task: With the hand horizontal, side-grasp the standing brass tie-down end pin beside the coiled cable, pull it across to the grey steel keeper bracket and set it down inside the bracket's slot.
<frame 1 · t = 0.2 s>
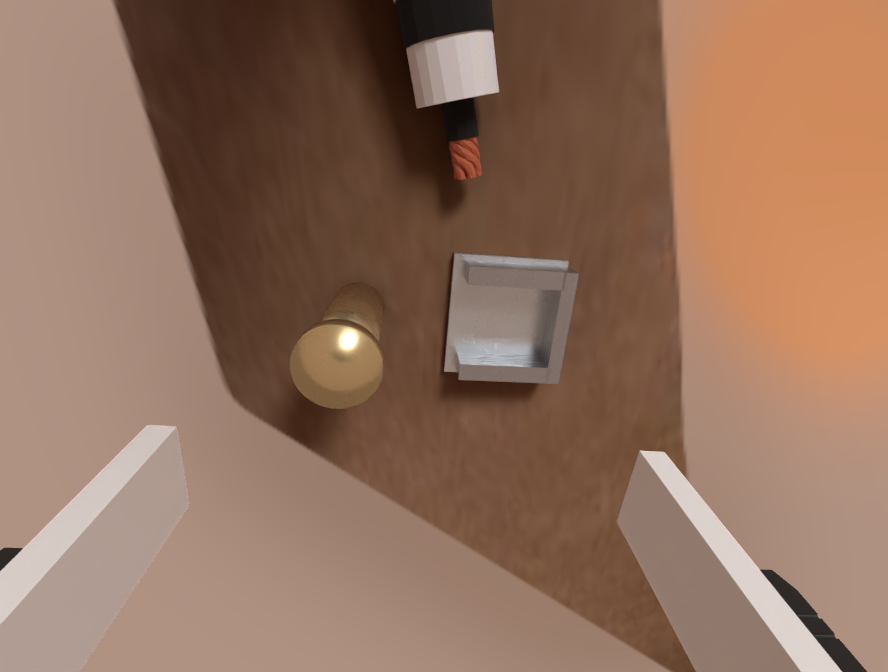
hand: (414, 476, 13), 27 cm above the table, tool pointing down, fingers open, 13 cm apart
end pin: (359, 307, 39), on the table
keeper bracket: (502, 315, 40), on the table
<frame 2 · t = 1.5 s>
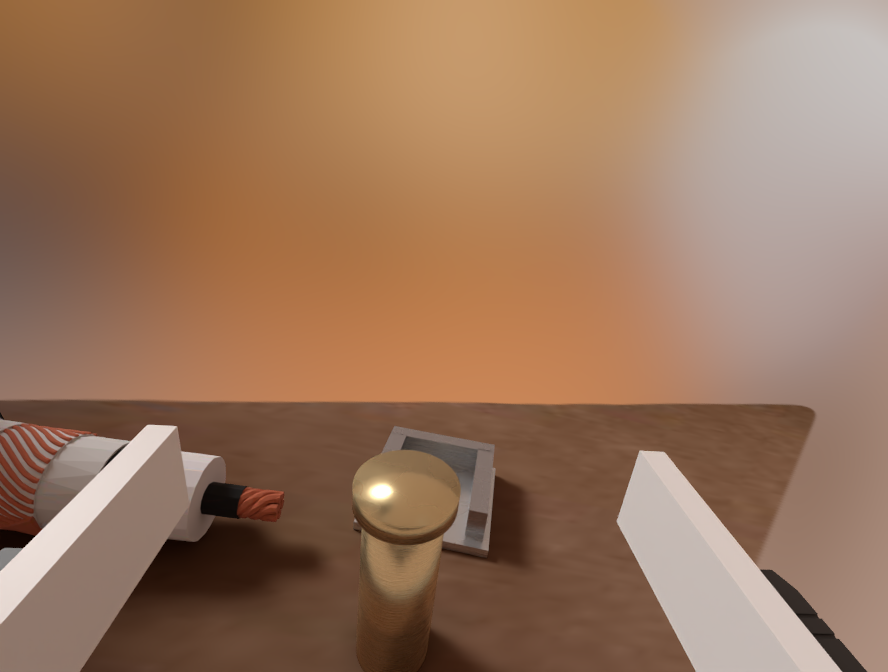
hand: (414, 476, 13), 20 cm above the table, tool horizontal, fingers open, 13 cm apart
end pin: (392, 644, 28), on the table
cable: (66, 512, 34), on the table, touching arm
keeper bracket: (430, 499, 40), on the table
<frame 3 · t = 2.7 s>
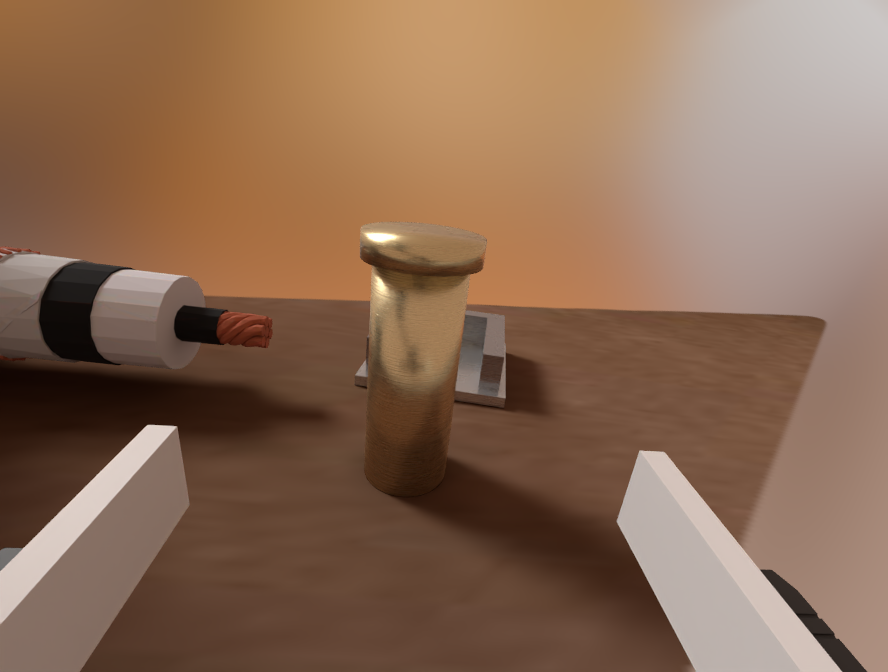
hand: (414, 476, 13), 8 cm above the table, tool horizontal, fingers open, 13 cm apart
end pin: (405, 467, 25), on the table
cable: (25, 356, 30), point 1 cm above the table, touching arm
keeper bracket: (438, 366, 37), on the table
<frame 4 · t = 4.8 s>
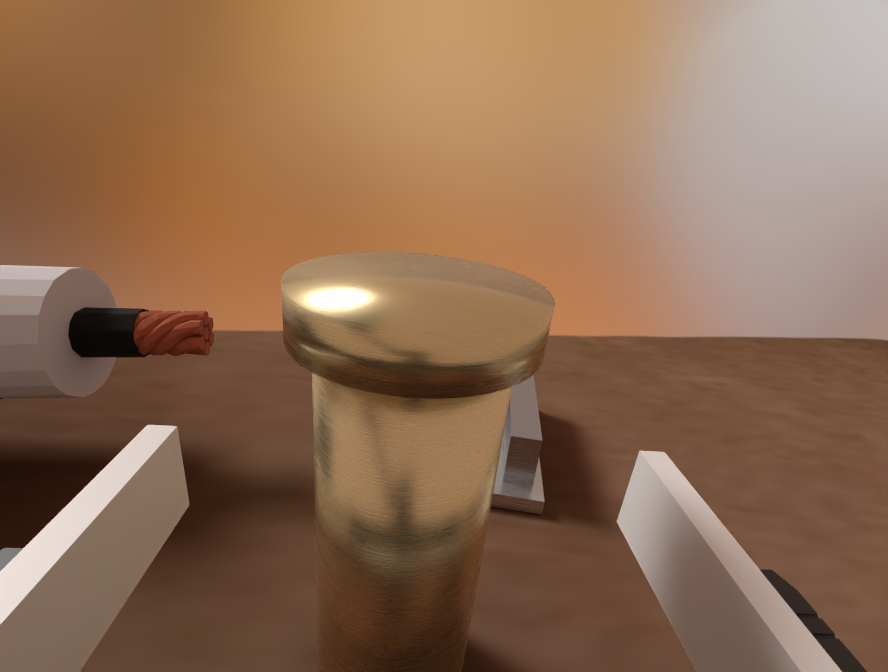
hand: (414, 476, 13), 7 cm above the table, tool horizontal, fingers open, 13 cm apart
end pin: (390, 669, 14), on the table
keeper bracket: (442, 437, 26), on the table
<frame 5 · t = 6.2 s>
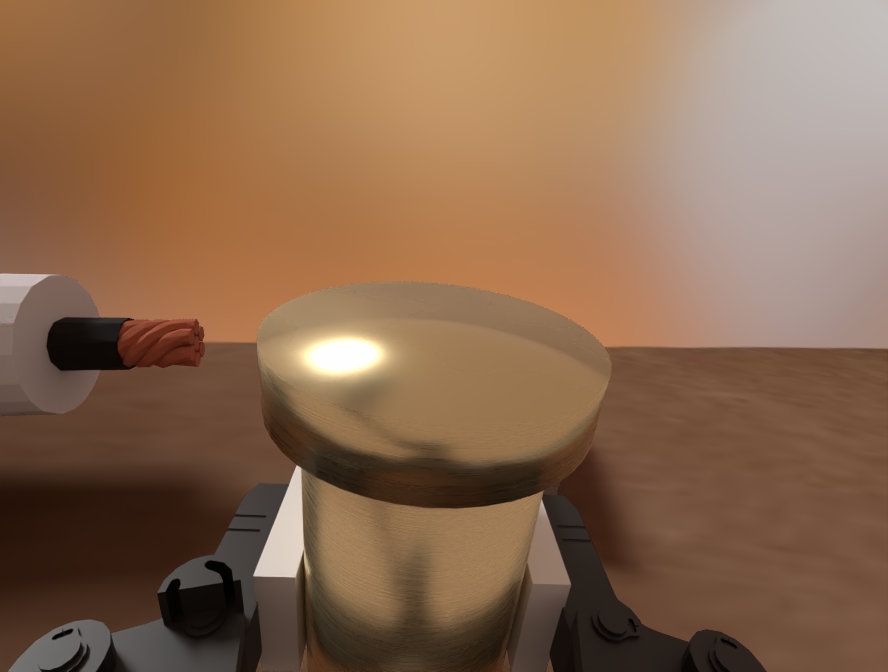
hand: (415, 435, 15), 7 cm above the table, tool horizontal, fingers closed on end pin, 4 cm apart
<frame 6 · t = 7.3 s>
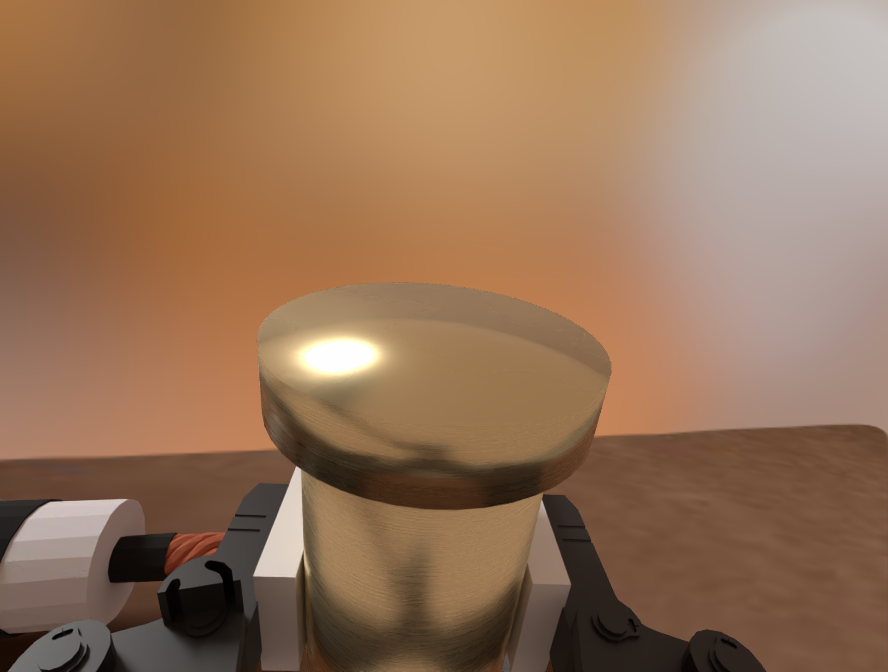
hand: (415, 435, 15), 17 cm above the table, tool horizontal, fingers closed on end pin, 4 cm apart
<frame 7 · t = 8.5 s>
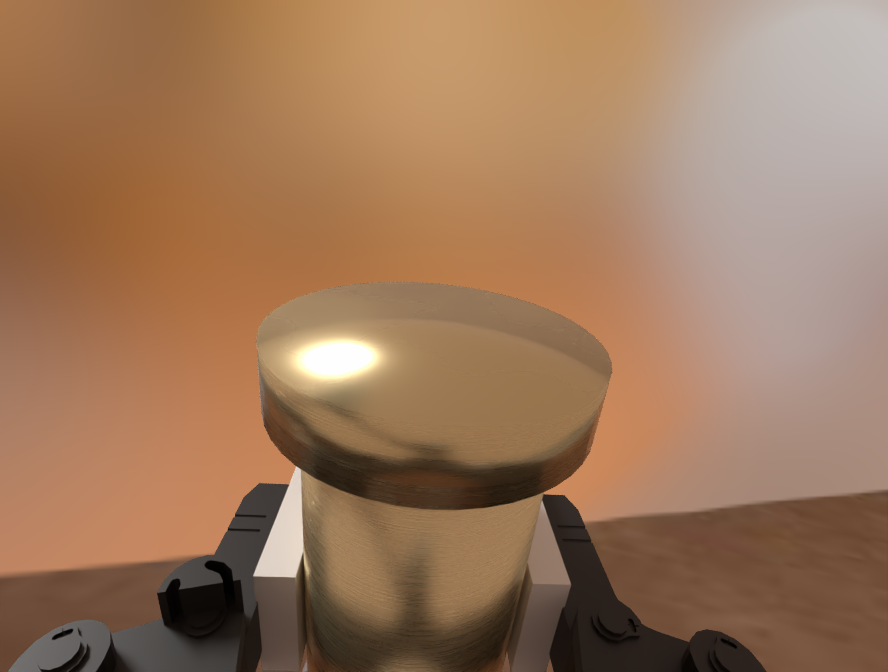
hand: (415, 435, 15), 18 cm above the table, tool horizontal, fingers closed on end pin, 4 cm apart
when the fingers open (9 cm above the table, at t = 10.5 s): end pin drops 2 cm, resting on keeper bracket.
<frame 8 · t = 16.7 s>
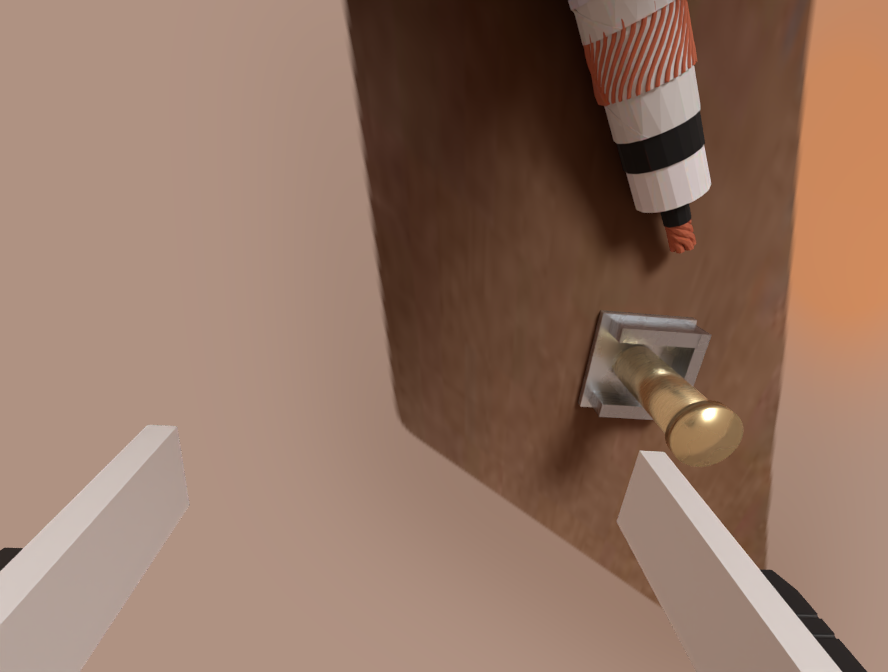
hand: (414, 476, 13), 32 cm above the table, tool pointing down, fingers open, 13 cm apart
end pin: (635, 365, 47), point 1 cm above the table, touching keeper bracket
cable: (615, 62, 37), on the table
keeper bracket: (633, 361, 48), on the table
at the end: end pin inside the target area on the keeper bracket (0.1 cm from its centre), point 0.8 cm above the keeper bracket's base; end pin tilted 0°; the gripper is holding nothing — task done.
